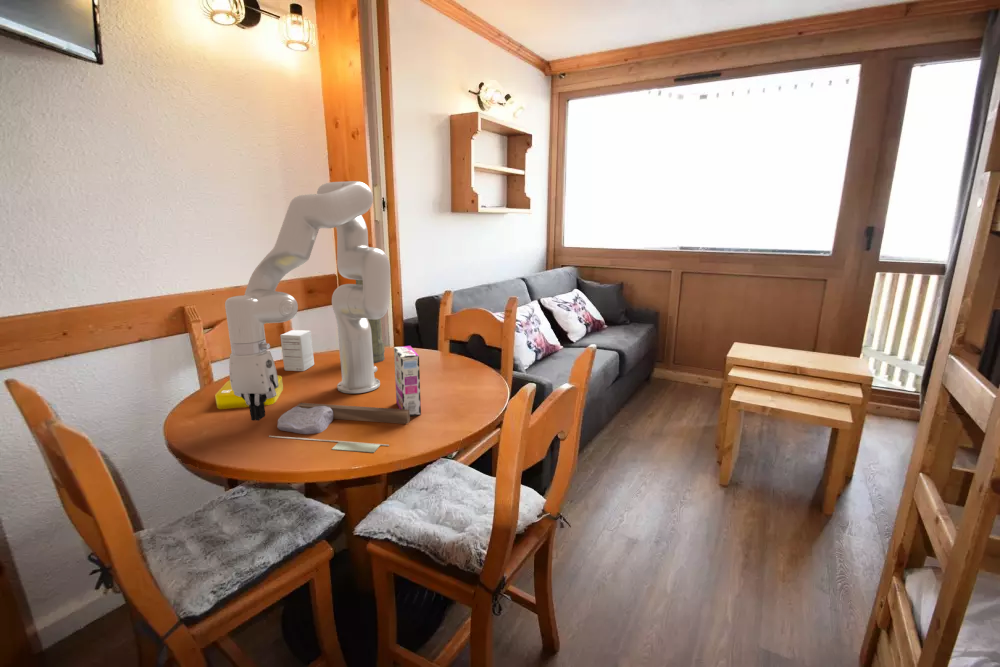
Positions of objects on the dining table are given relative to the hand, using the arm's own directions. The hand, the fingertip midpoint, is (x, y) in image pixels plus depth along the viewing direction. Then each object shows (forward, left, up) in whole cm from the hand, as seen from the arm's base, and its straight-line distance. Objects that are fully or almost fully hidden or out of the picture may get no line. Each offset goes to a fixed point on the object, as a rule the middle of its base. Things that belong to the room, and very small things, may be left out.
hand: (258, 418), depth 119 cm
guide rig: (-1, +21, -2) cm, 21 cm away
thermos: (-58, +4, -2) cm, 59 cm away
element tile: (-17, -15, -3) cm, 23 cm away
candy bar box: (-16, +33, -2) cm, 37 cm away
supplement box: (-45, -17, -2) cm, 49 cm away
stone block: (-2, +11, -3) cm, 12 cm away
